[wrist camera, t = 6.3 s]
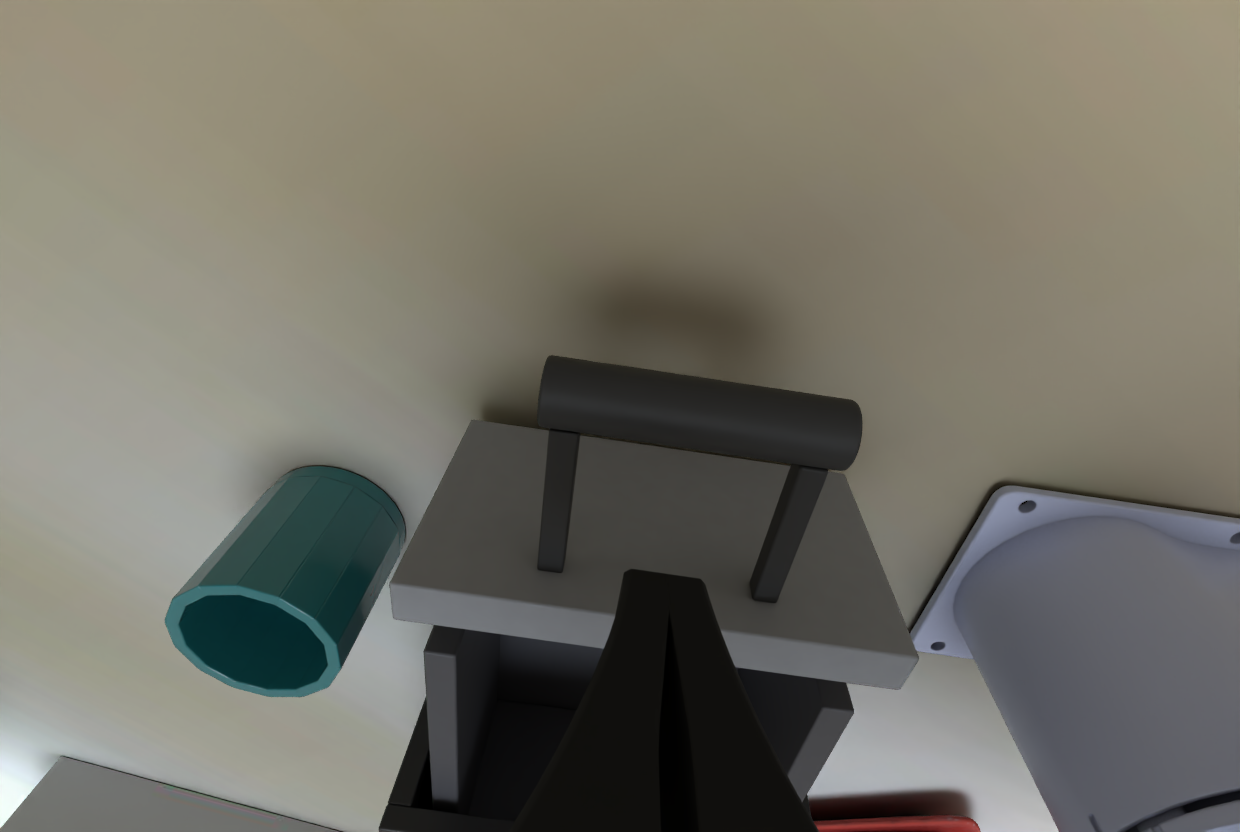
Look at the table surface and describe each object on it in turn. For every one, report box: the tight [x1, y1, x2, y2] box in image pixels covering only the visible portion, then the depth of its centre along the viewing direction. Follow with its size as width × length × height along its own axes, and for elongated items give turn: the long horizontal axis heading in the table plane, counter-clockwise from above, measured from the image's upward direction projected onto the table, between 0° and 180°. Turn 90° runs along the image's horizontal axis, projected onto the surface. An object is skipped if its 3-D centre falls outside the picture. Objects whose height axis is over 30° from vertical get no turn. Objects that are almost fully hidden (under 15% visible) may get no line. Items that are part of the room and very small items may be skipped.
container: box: [165, 466, 405, 697], centre depth 20 cm, size 5×5×6 cm
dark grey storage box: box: [379, 698, 811, 832], centre depth 25 cm, size 14×13×8 cm
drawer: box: [390, 355, 919, 821], centre depth 18 cm, size 19×12×7 cm, turn 172°
